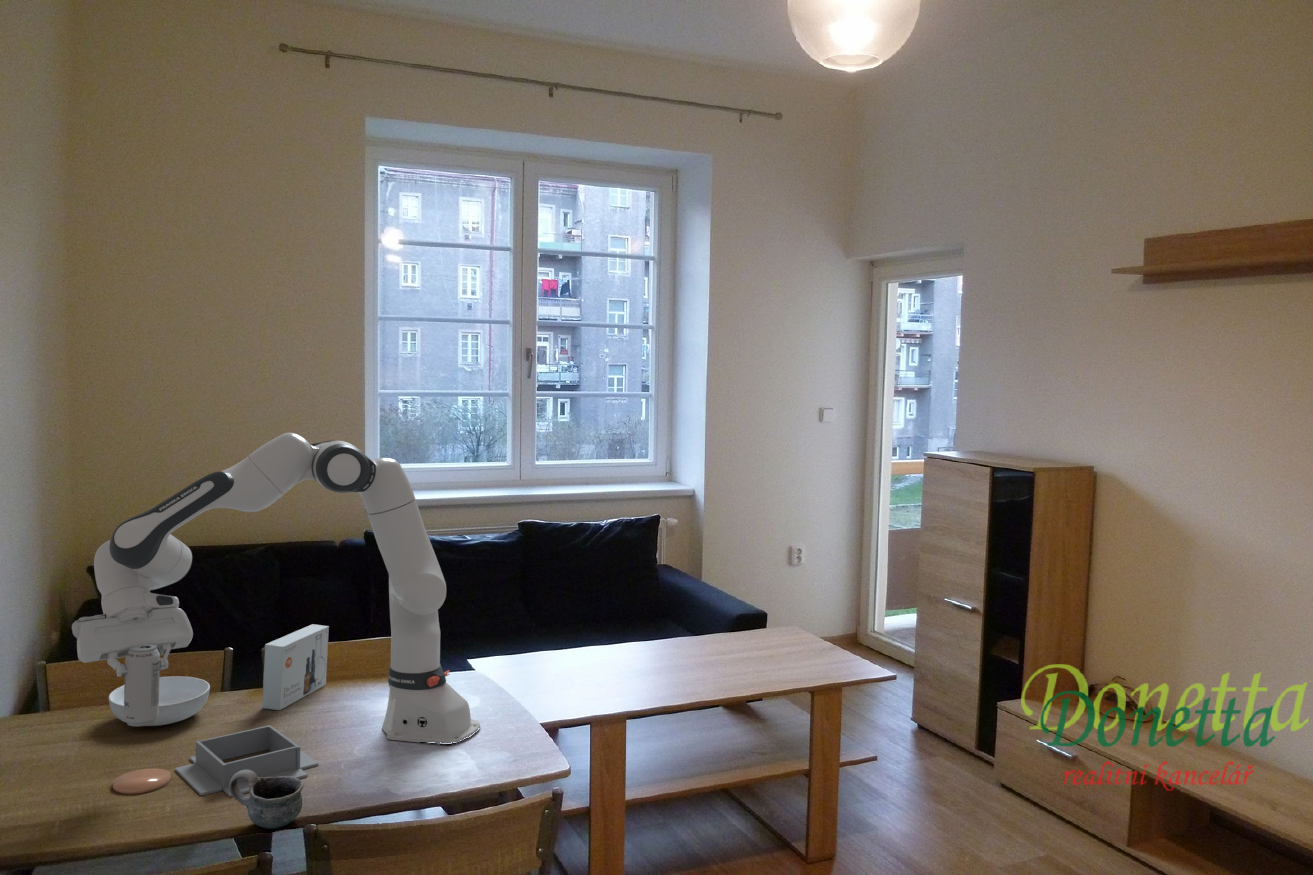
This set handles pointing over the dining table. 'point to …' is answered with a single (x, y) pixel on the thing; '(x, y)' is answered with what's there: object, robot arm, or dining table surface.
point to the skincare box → (295, 666)
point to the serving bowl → (170, 699)
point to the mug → (269, 798)
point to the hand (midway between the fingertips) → (143, 671)
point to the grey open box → (243, 760)
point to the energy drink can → (142, 685)
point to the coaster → (141, 781)
